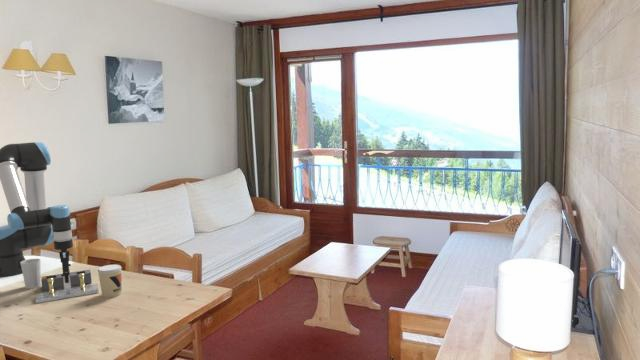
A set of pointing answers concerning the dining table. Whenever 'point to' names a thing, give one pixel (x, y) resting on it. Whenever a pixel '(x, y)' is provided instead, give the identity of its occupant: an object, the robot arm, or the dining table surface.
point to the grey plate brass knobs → (66, 291)
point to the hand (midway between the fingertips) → (67, 285)
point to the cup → (31, 273)
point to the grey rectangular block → (59, 282)
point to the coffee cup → (110, 280)
